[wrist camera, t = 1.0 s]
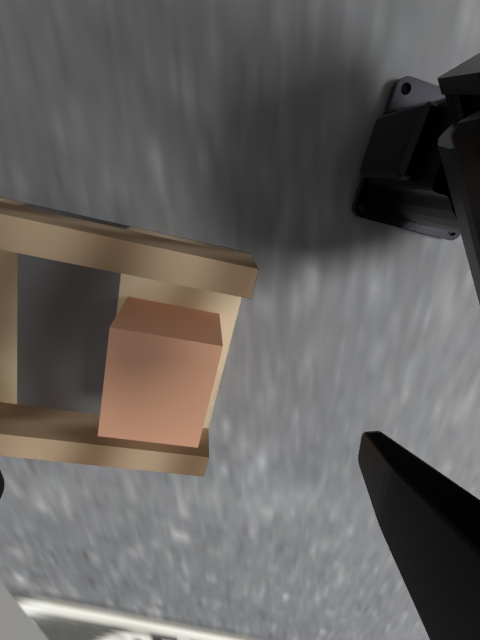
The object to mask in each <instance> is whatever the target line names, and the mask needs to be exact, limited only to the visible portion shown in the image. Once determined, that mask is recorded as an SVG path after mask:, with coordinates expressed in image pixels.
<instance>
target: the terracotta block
mask: <svg viewBox="0 0 480 640" xmlns="http://www.w3.org/2000/svg"><path fill="white" fill-rule="evenodd" d="M222 348H223V342H222V333H221V323H220V314H219V313H213V312H208V311H203V310H197V309H192V308H187V307H181V306H176V305H171V304H165V303H160V302H155V301H149V300H144V299H139V298H133V297H128V298H127V299H126V301H125V303H124V304H123V306H122V308H121V309H120V311H119V313H118V314H117V316H116V318H115V319H114V321H113V323H112V324H111V326H110V329H109V338H108V348H107V357H106V366H105V375H104V384H103V393H102V402H101V411H100V420H99V429H98V436H102V437H111V438H119V439H128V440H136V441H145V442H153V443H162V444H171V445H179V446H188V447H196V448H198V446H199V442H200V437H201V433H202V429H203V425H204V421H205V417H206V413H207V409H208V405H209V401H210V397H211V393H212V389H213V385H214V381H215V377H216V373H217V369H218V365H219V361H220V356H221V352H222Z"/></svg>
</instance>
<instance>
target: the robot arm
mask: <svg viewBox="0 0 480 640" xmlns="http://www.w3.org/2000/svg"><path fill="white" fill-rule="evenodd" d="M438 82H439V86H440V87H439V86H436V85H433V84H430V83H428V82H425V81H422V80H419V79H416V78H413V77H409V76H406V77H404V78H401V79H399V80H398V81H397V82H396V83H395V84H394V86H393V88H392V91H391V93H390V96H389V99H388V102H387V105H386V108H385V111H384V114H383V116H382V117H380V118H379V119H377V121H376V124H375V127H374V130H373V133H372V136H371V139H370V142H369V145H368V148H367V151H366V154H365V157H364V160H363V162H362V165H361V168H360V174H361V177H362V178H361V181H360V184H359V187H358V190H357V193H356V196H355V199H354V201H353V204H352V212H353V213H354V215H356V216H358V217H361V218H365V219H369V220H373V221H377V222H381V223H385V224H389V225H393V226H397V227H400V228H404V229H408V230H412V231H416V232H420V233H424V234H428V235H432V236H436V237H440V238H443V239H447V240H454V239H456V238H458V237H459V235H460V234H461V236H462V239H463V243H464V247H465V251H466V255H467V258H468V262H469V266H470V270H471V274H472V277H473V281H474V285H475V289H476V292H477V296H478V300H479V304H480V53H479V54H477V55H476V56H474V57H472V58H470V59H469V60H467V61H465V62H464V63H462V64H460V65H459V66H457V67H455V68H453V69H452V70H450V71H448V72H447V73H445V74H443V75H442V76H440V77H438ZM402 85H405V86H406V88H407V92H406V94H405V95H403V94H402V93H401V87H402ZM362 203H365V209H364V211H362V212H360V210H359V206H360V205H361V204H362ZM449 232H452V233H451V234H449ZM358 461H359V466H360V469H361V472H362V475H363V478H364V481H365V484H366V487H367V490H368V493H369V496H370V499H371V502H372V505H373V508H374V511H375V514H376V517H377V520H378V523H379V526H380V528H381V530H382V533H383V535H384V537H385V540H386V542H387V544H388V546H389V549H390V551H391V553H392V555H393V558H394V560H395V562H396V564H397V567H398V569H399V571H400V573H401V576H402V578H403V580H404V582H405V584H406V587H407V589H408V591H409V593H410V596H411V598H412V600H413V602H414V605H415V607H416V609H417V611H418V614H419V616H420V618H421V620H422V623H423V625H424V627H425V629H426V632H427V634H428V636H429V638H430V640H480V500H479V499H478V498H476V497H475V496H473V495H472V494H470V493H469V492H467V491H466V490H465V489H463V488H462V487H460V486H459V485H457V484H456V483H454V482H453V481H451V480H450V479H449V478H447V477H446V476H444V475H443V474H441V473H440V472H438V471H437V470H436V469H434V468H433V467H431V466H430V465H428V464H427V463H425V462H424V461H422V460H421V459H420V458H418V457H417V456H415V455H414V454H412V453H411V452H409V451H408V450H406V449H405V448H404V447H402V446H401V445H399V444H398V443H396V442H395V441H393V440H392V439H391V438H389V437H388V436H386V435H385V434H383V433H382V432H380V431H369V432H364V433H363V434H362V437H361V443H360V449H359V455H358ZM3 490H4V479H3V476H2V473H1V471H0V498H1V496H2V493H3Z"/></svg>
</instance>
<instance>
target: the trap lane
mask: <svg viewBox="0 0 480 640" xmlns="http://www.w3.org/2000/svg"><path fill="white" fill-rule="evenodd" d="M258 270H259V269H258V267H257V265H256V264H255V262H254V260H253V258H252V256H251V255H250V253H247V252H243V251H238V250H234V249H229V248H225V247H220V246H216V245H211V244H207V243H202V242H198V241H193V240H189V239H184V238H180V237H175V236H171V235H166V234H162V233H157V232H153V231H148V230H144V229H139V228H135V227H130V226H126V225H121V224H117V223H112V222H108V221H103V220H99V219H94V218H90V217H85V216H81V215H76V214H72V213H67V212H63V211H58V210H54V209H49V208H45V207H40V206H36V205H31V204H27V203H22V202H18V201H13V200H9V199H4V198H0V456H9V457H18V458H28V459H38V460H48V461H58V462H67V463H77V464H87V465H97V466H107V467H116V468H126V469H136V470H146V471H156V472H165V473H175V474H185V475H195V476H204V474H205V470H206V466H207V462H208V459H209V438H208V428H209V424H210V420H211V416H212V412H213V408H214V404H215V400H216V396H217V392H218V388H219V385H220V381H221V377H222V373H223V369H224V365H225V361H226V357H227V353H228V349H229V345H230V341H231V337H232V333H233V329H234V326H235V322H236V318H237V314H238V310H239V306H240V302H241V298H242V297H243V298H248V299H251V296H252V292H253V289H254V285H255V281H256V277H257V274H258ZM128 297H133V298H139V299H144V300H149V301H155V302H160V303H165V304H171V305H176V306H181V307H187V308H192V309H197V310H203V311H208V312H213V313H219V314H220V323H221V333H222V342H223V348H222V352H221V356H220V361H219V365H218V369H217V373H216V377H215V381H214V385H213V389H212V393H211V397H210V401H209V405H208V409H207V413H206V417H205V421H204V425H203V429H202V433H201V437H200V442H199V446H198V448H196V447H188V446H179V445H171V444H162V443H153V442H145V441H136V440H128V439H119V438H111V437H102V436H98V429H99V420H100V411H101V402H102V393H103V384H104V375H105V366H106V357H107V348H108V338H109V329H110V326H111V324H112V323H113V321H114V319H115V318H116V316H117V314H118V313H119V311H120V309H121V308H122V306H123V304H124V303H125V301H126V299H127V298H128Z"/></svg>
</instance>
